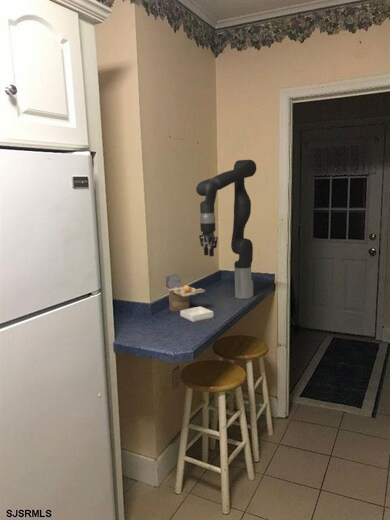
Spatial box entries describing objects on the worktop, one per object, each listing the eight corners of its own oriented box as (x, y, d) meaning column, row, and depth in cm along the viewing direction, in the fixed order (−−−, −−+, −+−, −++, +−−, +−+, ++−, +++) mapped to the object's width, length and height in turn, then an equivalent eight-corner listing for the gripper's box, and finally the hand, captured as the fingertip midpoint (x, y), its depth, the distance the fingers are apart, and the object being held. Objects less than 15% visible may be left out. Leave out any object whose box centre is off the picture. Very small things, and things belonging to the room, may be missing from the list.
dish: (200, 311, 216) (200, 306, 216) (213, 317, 206) (213, 311, 206) (180, 316, 210) (180, 310, 210) (192, 321, 201) (192, 316, 200)
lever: (164, 289, 227) (164, 276, 226) (185, 285, 233) (185, 272, 232) (183, 296, 210) (183, 282, 209) (206, 292, 217) (205, 278, 215)
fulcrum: (169, 309, 222) (168, 290, 220) (185, 306, 227) (184, 287, 225) (173, 311, 218) (172, 291, 217) (189, 308, 223) (188, 288, 222)
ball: (187, 290, 216) (187, 284, 216) (191, 292, 213) (191, 285, 213) (181, 292, 215) (181, 285, 214) (185, 293, 212) (185, 286, 211)
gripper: (222, 222, 211) (223, 256, 214) (206, 220, 223) (207, 253, 226) (209, 223, 207) (210, 258, 210) (193, 221, 219) (195, 255, 222)
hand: (208, 255), depth 218 cm, fingers open, 4 cm apart
